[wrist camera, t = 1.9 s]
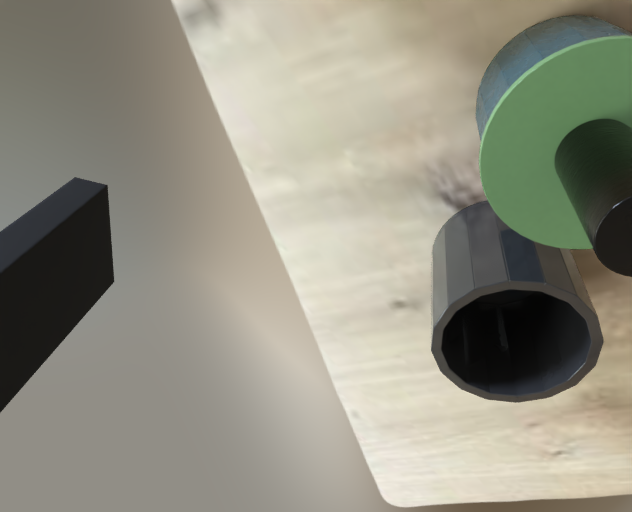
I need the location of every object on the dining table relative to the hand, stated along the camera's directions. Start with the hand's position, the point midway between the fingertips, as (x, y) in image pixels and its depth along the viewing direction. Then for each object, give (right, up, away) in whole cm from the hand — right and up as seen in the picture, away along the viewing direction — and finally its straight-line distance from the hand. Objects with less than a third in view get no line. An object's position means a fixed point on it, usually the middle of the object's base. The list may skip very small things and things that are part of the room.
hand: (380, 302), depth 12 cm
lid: (+13, +7, +16) cm, 22 cm away
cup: (+13, +1, +31) cm, 34 cm away
